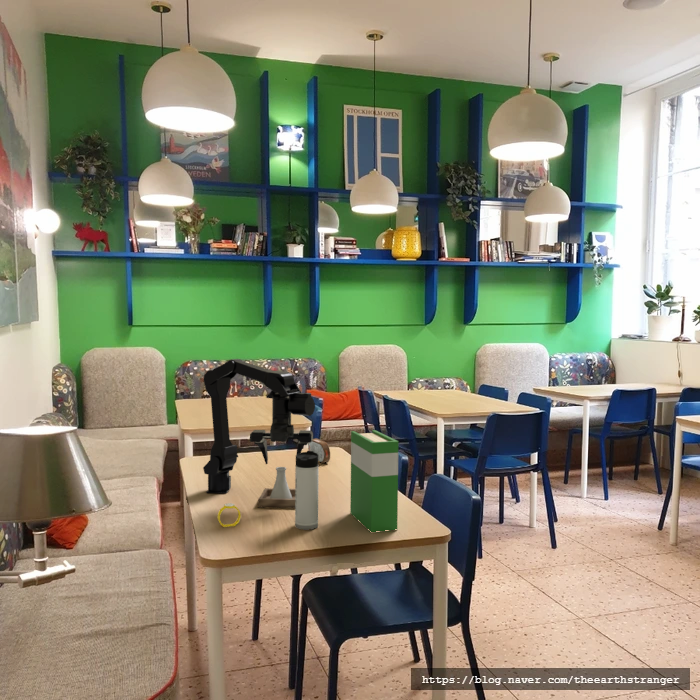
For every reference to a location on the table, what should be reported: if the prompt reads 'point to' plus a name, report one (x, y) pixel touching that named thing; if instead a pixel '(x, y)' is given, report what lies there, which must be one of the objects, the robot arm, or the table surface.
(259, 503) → the tray
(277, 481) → the flask
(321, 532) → the table surface
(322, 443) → the tin
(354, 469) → the hardback book
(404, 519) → the table surface
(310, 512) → the travel mug
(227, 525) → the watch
